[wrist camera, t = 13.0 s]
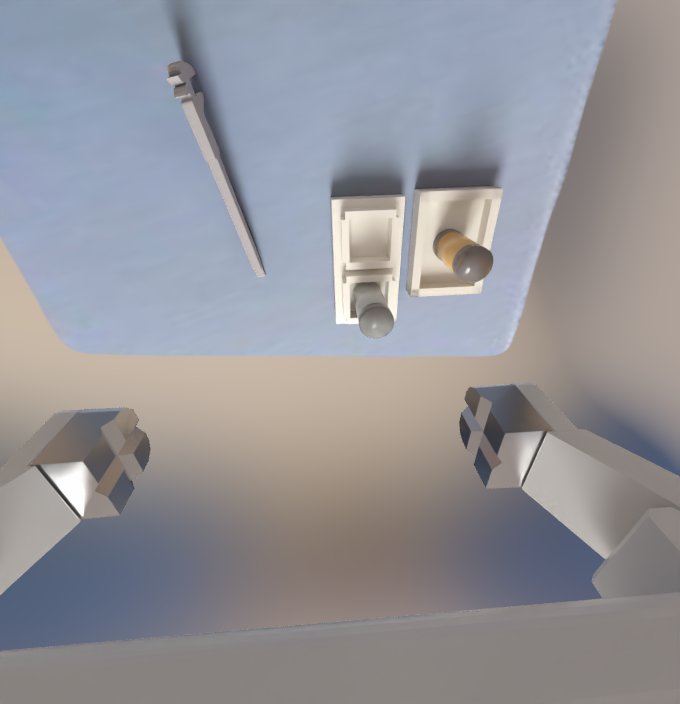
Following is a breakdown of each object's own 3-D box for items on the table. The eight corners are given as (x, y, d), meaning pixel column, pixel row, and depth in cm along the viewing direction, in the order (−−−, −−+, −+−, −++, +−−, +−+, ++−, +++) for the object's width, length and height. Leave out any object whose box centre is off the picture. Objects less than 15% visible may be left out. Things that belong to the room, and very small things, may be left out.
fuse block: (330, 197, 37) (335, 213, 28) (401, 194, 37) (426, 209, 28) (335, 316, 45) (340, 357, 36) (393, 313, 45) (410, 352, 37)
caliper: (183, 70, 30) (155, 55, 25) (194, 67, 30) (169, 51, 25) (258, 276, 41) (250, 296, 36) (266, 274, 41) (259, 294, 36)
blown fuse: (434, 229, 38) (459, 247, 32) (465, 228, 39) (497, 246, 32) (430, 260, 40) (453, 283, 34) (460, 258, 41) (488, 282, 34)
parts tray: (414, 188, 37) (420, 191, 34) (492, 185, 37) (503, 188, 35) (406, 289, 43) (410, 296, 41) (472, 285, 43) (480, 293, 41)
